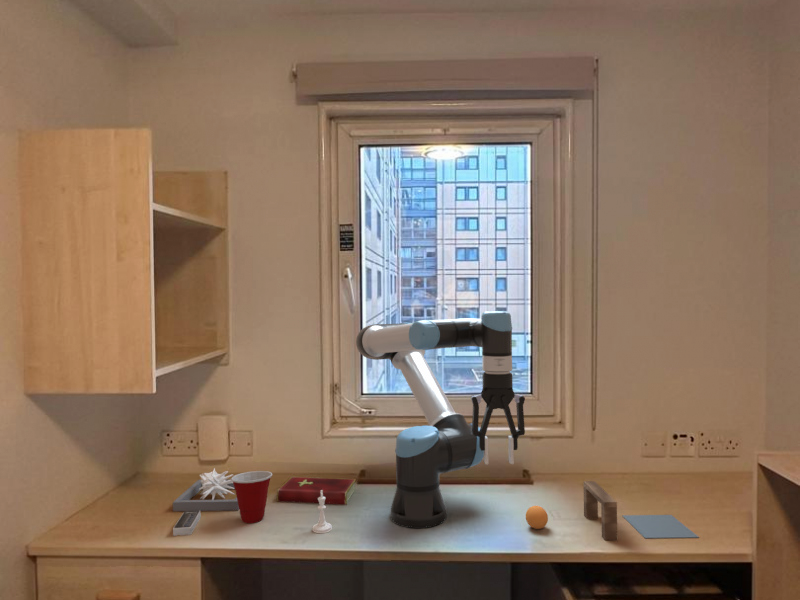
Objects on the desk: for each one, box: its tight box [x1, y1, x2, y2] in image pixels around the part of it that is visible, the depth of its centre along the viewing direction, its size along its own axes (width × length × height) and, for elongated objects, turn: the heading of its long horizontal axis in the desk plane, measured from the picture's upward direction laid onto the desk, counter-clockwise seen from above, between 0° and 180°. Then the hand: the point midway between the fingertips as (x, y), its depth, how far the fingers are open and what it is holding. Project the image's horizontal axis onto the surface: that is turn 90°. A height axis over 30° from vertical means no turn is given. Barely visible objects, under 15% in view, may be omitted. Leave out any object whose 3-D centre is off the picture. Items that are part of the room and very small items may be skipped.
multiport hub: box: [172, 511, 202, 537], centre depth 137 cm, size 4×11×2 cm, turn 8°
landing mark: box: [622, 514, 700, 539], centre depth 133 cm, size 13×13×1 cm
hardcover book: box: [276, 476, 357, 506], centre depth 157 cm, size 12×21×4 cm, turn 81°
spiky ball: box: [199, 467, 236, 500], centre depth 157 cm, size 11×12×8 cm
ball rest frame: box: [172, 478, 240, 512], centre depth 156 cm, size 18×18×2 cm
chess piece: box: [312, 490, 333, 534], centre depth 134 cm, size 5×5×10 cm
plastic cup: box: [230, 470, 273, 524], centre depth 141 cm, size 11×11×12 cm
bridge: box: [583, 480, 618, 541], centre depth 133 cm, size 3×14×9 cm, turn 0°
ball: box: [525, 505, 549, 530], centre depth 133 cm, size 6×6×6 cm
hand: (498, 462), depth 133 cm, fingers open, 6 cm apart
